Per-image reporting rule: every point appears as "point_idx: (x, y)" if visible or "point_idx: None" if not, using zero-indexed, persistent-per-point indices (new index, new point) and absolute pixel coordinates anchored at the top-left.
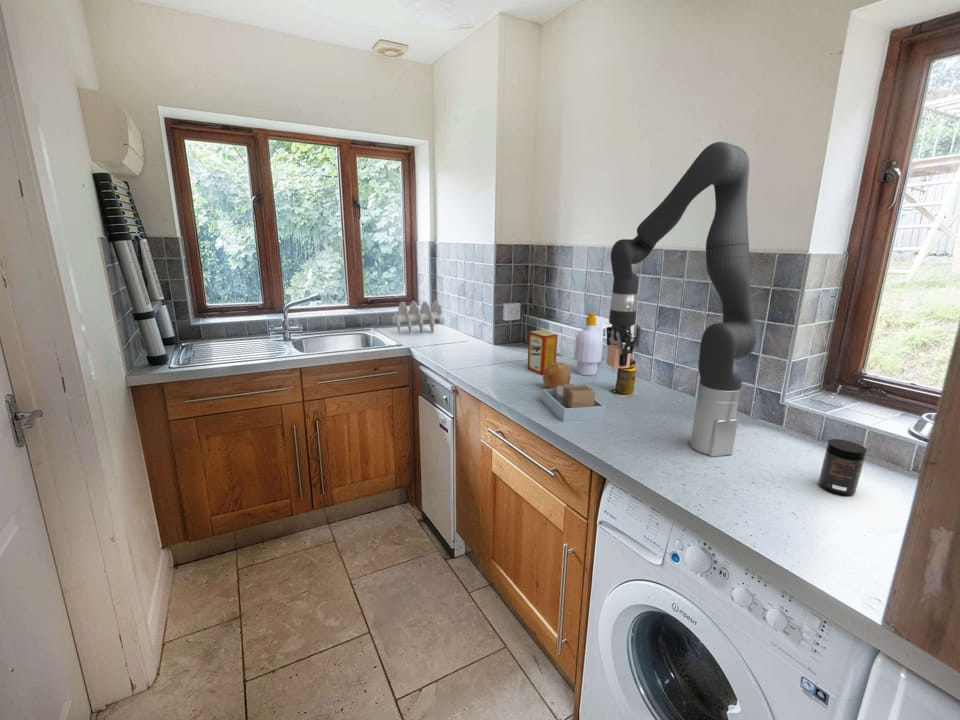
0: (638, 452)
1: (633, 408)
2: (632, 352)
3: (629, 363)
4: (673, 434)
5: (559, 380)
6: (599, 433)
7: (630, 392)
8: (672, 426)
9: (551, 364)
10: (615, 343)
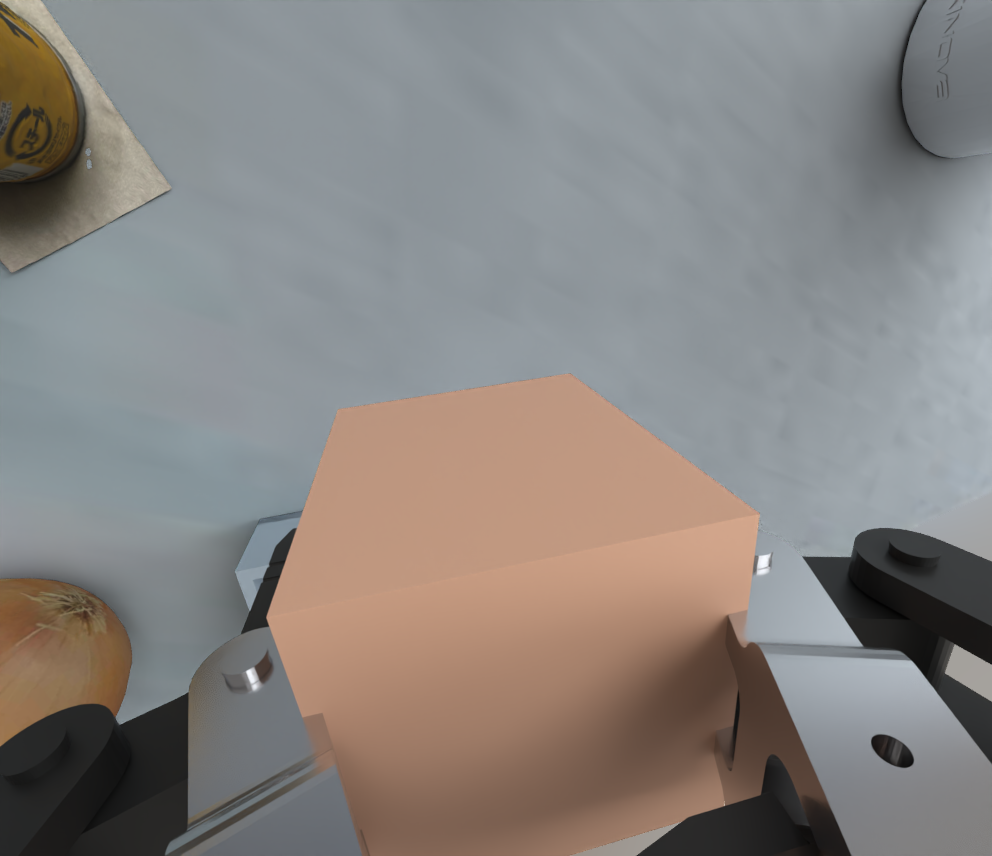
0: (878, 420)
1: (409, 206)
2: (929, 539)
3: (594, 393)
4: (801, 160)
5: (116, 688)
6: None
7: (54, 61)
8: (717, 92)
9: None
10: (91, 771)
